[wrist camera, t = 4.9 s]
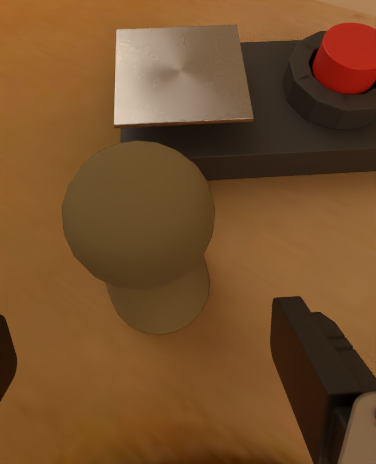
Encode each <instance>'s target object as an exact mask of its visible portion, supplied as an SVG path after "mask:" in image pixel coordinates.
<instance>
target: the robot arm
mask: <svg viewBox="0 0 376 464" xmlns="http://www.w3.org/2000/svg"><path fill="white" fill-rule="evenodd" d="M270 346H271V353H272V357H273V361H274V363H275V366H276V369H277V371H278V374H279V376H280V379H281V381H282V384H283V386H284V389H285V392H286V394H287V397H288V399H289V402H290V404H291V407H292V409H293V412H294V415H295V417H296V420H297V422H298V425H299V427H300V430H301V432H302V435H303V437H304V440H305V443H306V445H307V448H308V450H309V453H310V455H311V458H312V460H313V463H314V464H376V378H375V376H374V375H373V374H372V372H371V371H370V370H369V368H368V367H367V365H366V364H365V363H364V361H363V360H362V359H361V357H360V356H359V355H358V353H357V352H356V351H355V349H353V346H352V345H351V344H350V342H349V341H348V340H347V338H345V337H344V334H343V333H342V331H341V330H340V329H339V327H338V326H337V325H336V323H335V322H333V321H332V320H331V319H329V318H328V317H326V316H325V315H323V314H322V313H321V312H312V313H311V312H310V310H309V309H308V307H307V306H306V304H305V303H304V301H303V299H302V298H301V297H300V296H294V297H279V298H274V299H273V303H272V318H271V335H270ZM16 368H17V356H16V352H15V349H14V346H13V342H12V339H11V335H10V332H9V329H8V325H7V322H6V319H5V318H4V316H2V315H0V401H1V399H2V398H3V396H4V394H5V392H6V391H7V389H8V387H9V385H10V384H11V382H12V380H13V378H14V376H15V373H16Z"/></svg>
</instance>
